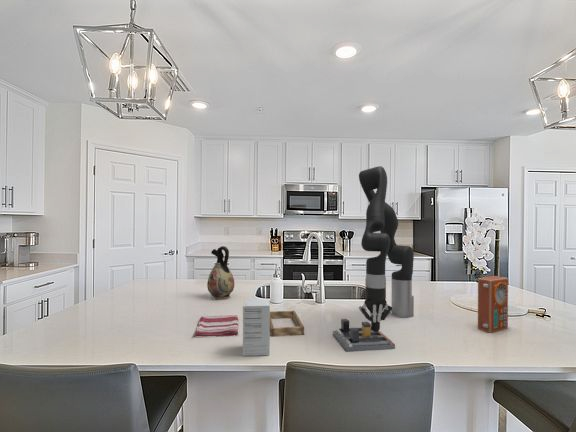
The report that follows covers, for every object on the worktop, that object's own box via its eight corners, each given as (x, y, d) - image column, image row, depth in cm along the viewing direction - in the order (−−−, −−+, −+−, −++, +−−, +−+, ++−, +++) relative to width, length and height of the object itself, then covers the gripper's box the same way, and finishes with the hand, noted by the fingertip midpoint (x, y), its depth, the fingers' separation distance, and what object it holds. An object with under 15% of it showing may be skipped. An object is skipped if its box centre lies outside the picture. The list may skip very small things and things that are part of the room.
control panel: (511, 328, 138) (490, 334, 131) (494, 323, 144) (473, 328, 137) (511, 277, 138) (490, 280, 131) (494, 275, 144) (473, 277, 137)
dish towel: (193, 339, 125) (193, 332, 125) (200, 320, 149) (200, 314, 149) (237, 336, 128) (238, 330, 128) (238, 318, 151) (238, 312, 151)
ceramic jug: (201, 298, 185) (201, 246, 185) (221, 293, 198) (221, 244, 198) (222, 303, 175) (222, 247, 175) (241, 297, 188) (242, 245, 188)
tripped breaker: (367, 335, 124) (367, 321, 124) (370, 338, 122) (370, 324, 122) (361, 335, 124) (361, 322, 124) (364, 338, 121) (364, 324, 121)
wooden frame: (294, 317, 152) (294, 310, 152) (304, 334, 129) (304, 327, 129) (266, 318, 150) (266, 311, 150) (271, 336, 127) (271, 328, 127)
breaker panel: (375, 332, 132) (376, 316, 132) (395, 348, 116) (395, 330, 116) (333, 334, 129) (333, 318, 129) (346, 351, 113) (346, 332, 113)
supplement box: (269, 355, 109) (270, 305, 109) (242, 356, 109) (242, 306, 109) (269, 344, 119) (269, 298, 119) (243, 345, 118) (244, 299, 118)
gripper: (387, 283, 128) (387, 327, 128) (355, 284, 126) (355, 328, 126) (396, 287, 120) (396, 333, 120) (362, 288, 118) (362, 335, 118)
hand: (375, 331), depth 123 cm, fingers closed
